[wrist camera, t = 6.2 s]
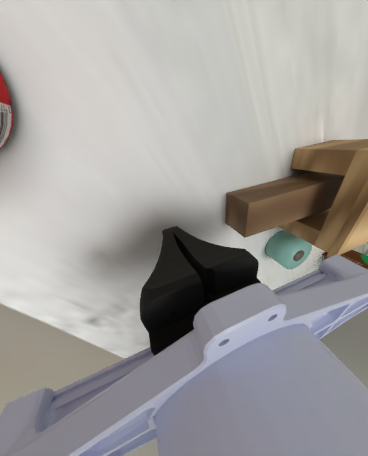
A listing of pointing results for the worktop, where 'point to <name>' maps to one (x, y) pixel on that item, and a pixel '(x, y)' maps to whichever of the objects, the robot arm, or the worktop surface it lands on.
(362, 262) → the food container
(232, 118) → the worktop surface
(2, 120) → the soda can
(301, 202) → the brown wooden bar
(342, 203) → the wooden arch block
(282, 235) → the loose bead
